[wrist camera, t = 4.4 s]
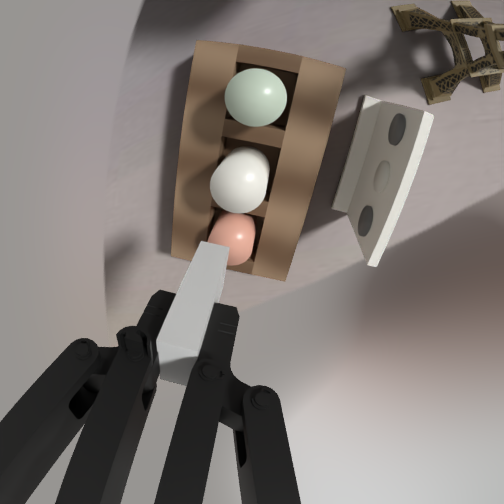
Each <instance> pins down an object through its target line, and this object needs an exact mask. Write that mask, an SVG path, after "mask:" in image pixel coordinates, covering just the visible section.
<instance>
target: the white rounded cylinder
mask: <svg viewBox="0 0 504 504" xmlns="http://www.w3.org/2000/svg"><path fill="white" fill-rule="evenodd" d="M269 172H270V166H269V162H268V159H267V157H266V156H265V155H264V154H263V153H262V152H261V151H260V150H258V149H257V148H254V147H251V146H241V147H238V148H235V149H233V150H232V151H231V152H230V153H229V154H228V155H227V156H226V157H225V159H224V160H223V161H222V163H221V164H220V165H219V166H218V168H217V169H216V170H215V172H214V173H213V175H212V177H211V181H210V191H211V194H212V197H213V199H214V200H215V202H216V203H217V204H218V205H219V206H220V207H221V208H223V209H225V210H226V211H229V212H232V213H247V212H250V211H252V210H254V209H255V208H257V207H258V206H259V205H260V204H261V203H262V201H263V199H264V197H265V194H266V189H267V183H268V178H269Z"/></svg>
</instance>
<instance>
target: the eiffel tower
mask: <svg viewBox="0 0 504 504" xmlns="http://www.w3.org/2000/svg"><path fill="white" fill-rule="evenodd" d="M451 3H452V5H453V7H454V9H455V11H456V14H457V16H458V18H459V19H450V21H449V20H444V19H439V18H437V17H435V16H433V15H432V14H430V13H428V12H426V11H424V10H422V9H420V8H418V7H416V6H415V4H407V5H400V6H393V7H391V9H392V11H393V13H394V15H395V17H396V19H397V21H398V23H399V26H400V28H401V30H402V32H403V31H409V30H415V29H422V28H423V29H431V30H437V31H442V33H443V34H444V36H445V37H446V39H447V41H448V42H449V44H450V46H451V48H452V51H453V56H454V63H455V68H453V69H451V70H449V71H447V72H446V73H444V74H441V75H436V76H431V77H427V78H422V79H421V81H422V84H423V87H424V90H425V94H426V97H427V100H428V104H429V105H431V104H435V103H440V102H444V101H448V100H451V99H450V96H451V95H452V93H453V92H454V90H455V89H456V87H457V86H458V84H459V83H460V81H461V80H463V79H465V78H466V77H468V76H470V77H476V76H479V78H480V81H481V85H482V89H483V93H486V92H491V91H497V90H500V86H499V84H500V81H501V77H502V73H503V72H504V51H502V50H501V47H500V43H499V41H504V24H495V23H493V22H492V19H491V18H484V17H483V16H482V15H481V14H480V13H479V12H478V11H477V10H476V9H475V8H474V7H472V5H471V2H470V1H451ZM464 34H466V35H470V36H475V37H479V38H480V39H481V41H482V44H483V47H484V49H485V56H483V57H480V58H478V59H476V60H474V61H473V60H472V57H471V54H470V51H469V48H468V45H467V42H466V40H465V37H464ZM498 40H499V41H498Z"/></svg>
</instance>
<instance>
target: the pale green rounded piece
mask: <svg viewBox="0 0 504 504" xmlns="http://www.w3.org/2000/svg"><path fill="white" fill-rule="evenodd" d="M286 102H287V94H286V89H285V87H284V85H283V83H282V81H281V80H280V79H279V78H278V77H277V76H276V75H275V74H273V73H271V72H270V71H267V70H264V69H258V68H253V69H247V70H244V71H242V72H240V73H238V74H237V75H235V76H234V77H233V78H232V79H231V80H230V82H229V83H228V85H227V88H226V91H225V104H226V107H227V109H228V111H229V113H230V114H231V116H232V117H233V118H234V119H235V120H237V121H238V122H240V123H242V124H244V125H247V126H253V127H259V126H265V125H268V124H270V123H272V122H274V121H275V120H276V119H277V118H279V116H280V115H281V114H282V112H283V111H284V109H285V106H286Z"/></svg>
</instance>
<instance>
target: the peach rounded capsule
mask: <svg viewBox="0 0 504 504" xmlns="http://www.w3.org/2000/svg"><path fill="white" fill-rule="evenodd" d="M256 228H257V217H256V215H252V214H247V213H232V212H229V211H226V210H225V209H223V210H222V211H221V213H220V215H219V217H218V219H217V221H216V223H215V225H214V227H213V229H212V232H211V234H210V236H209V238H208V242H209V243H213V244H218V245H222V246H227V247H230V249H229V255H228V261H227V265H231V266H233V265H239V264H242V263H244V262H245V261H246V260H247V259H248V258H249V257H250V255H251V253H252V248H253V243H254V238H255V233H256Z"/></svg>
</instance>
